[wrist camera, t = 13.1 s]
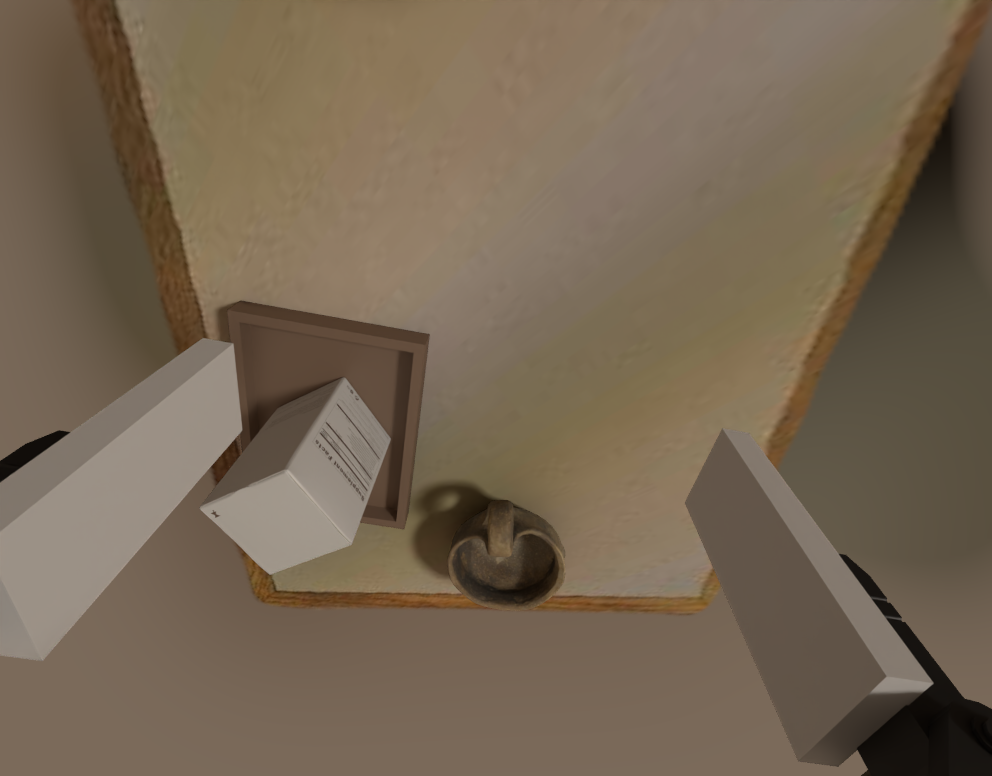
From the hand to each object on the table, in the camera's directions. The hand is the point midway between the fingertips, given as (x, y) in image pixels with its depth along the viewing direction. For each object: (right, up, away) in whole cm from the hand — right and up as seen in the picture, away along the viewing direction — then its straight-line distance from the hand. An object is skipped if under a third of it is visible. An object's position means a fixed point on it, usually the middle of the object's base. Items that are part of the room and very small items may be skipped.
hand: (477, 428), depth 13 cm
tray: (-17, -2, +39) cm, 42 cm away
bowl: (+2, -15, +45) cm, 48 cm away
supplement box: (-17, -3, +38) cm, 42 cm away
